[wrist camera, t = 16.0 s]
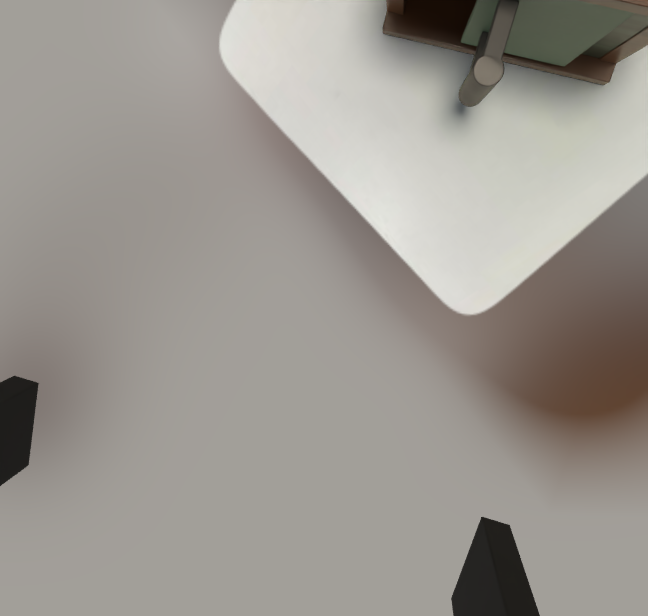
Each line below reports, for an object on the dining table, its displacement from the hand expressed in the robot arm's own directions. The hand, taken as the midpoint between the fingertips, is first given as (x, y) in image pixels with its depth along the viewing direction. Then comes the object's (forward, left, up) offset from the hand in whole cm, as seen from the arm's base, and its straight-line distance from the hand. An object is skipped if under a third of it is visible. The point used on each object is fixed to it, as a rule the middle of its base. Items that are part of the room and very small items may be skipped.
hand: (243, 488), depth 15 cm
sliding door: (-16, +10, -27) cm, 33 cm away
